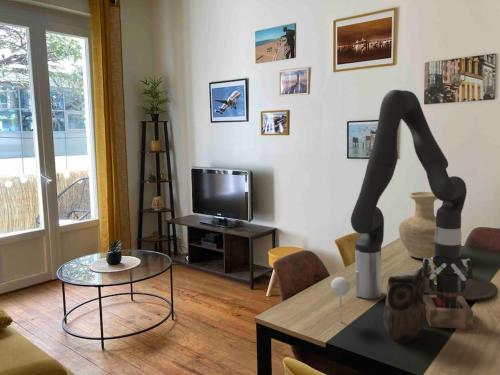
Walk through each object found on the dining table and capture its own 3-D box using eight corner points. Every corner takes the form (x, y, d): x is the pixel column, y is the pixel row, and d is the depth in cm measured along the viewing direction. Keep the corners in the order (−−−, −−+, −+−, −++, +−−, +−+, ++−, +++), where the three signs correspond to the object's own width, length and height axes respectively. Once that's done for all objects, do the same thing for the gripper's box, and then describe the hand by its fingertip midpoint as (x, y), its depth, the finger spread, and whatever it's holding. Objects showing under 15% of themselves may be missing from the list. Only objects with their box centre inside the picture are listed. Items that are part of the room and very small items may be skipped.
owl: (426, 327, 128) (426, 264, 125) (427, 347, 116) (428, 279, 114) (383, 322, 133) (383, 262, 130) (380, 341, 121) (380, 275, 118)
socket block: (430, 326, 128) (430, 309, 127) (422, 310, 140) (423, 294, 139) (472, 329, 125) (473, 311, 125) (461, 311, 137) (462, 296, 136)
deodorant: (458, 323, 129) (460, 277, 127) (438, 322, 130) (439, 277, 128) (453, 315, 135) (454, 271, 133) (434, 314, 136) (434, 270, 134)
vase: (406, 247, 211) (406, 189, 207) (454, 253, 198) (455, 191, 194) (392, 259, 193) (392, 196, 189) (445, 267, 180) (446, 199, 176)
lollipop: (346, 328, 130) (345, 282, 128) (328, 324, 133) (327, 279, 131) (352, 319, 135) (352, 275, 133) (335, 316, 138) (334, 273, 136)
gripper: (425, 243, 127) (424, 293, 129) (476, 244, 124) (474, 296, 126) (421, 237, 134) (420, 284, 137) (469, 238, 131) (467, 286, 133)
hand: (446, 290), depth 131 cm, fingers open, 8 cm apart
